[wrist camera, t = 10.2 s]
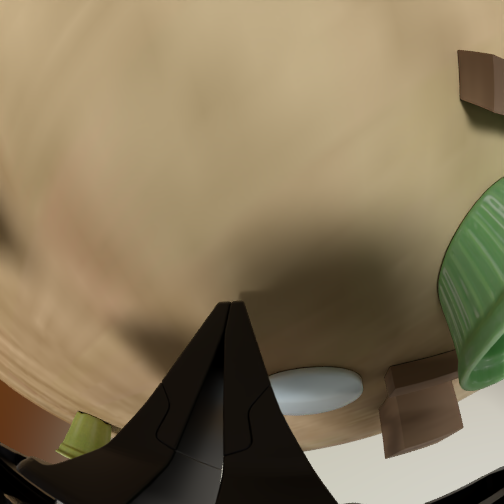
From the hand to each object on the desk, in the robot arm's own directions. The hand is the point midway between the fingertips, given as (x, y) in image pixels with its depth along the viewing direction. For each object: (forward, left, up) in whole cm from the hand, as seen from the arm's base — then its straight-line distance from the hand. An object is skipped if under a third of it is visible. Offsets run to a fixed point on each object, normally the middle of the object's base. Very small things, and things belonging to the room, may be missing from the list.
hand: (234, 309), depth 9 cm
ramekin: (0, -12, -1) cm, 12 cm away
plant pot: (-28, +29, -1) cm, 41 cm away
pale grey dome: (-10, -2, -1) cm, 10 cm away
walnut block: (-15, -11, -1) cm, 19 cm away
